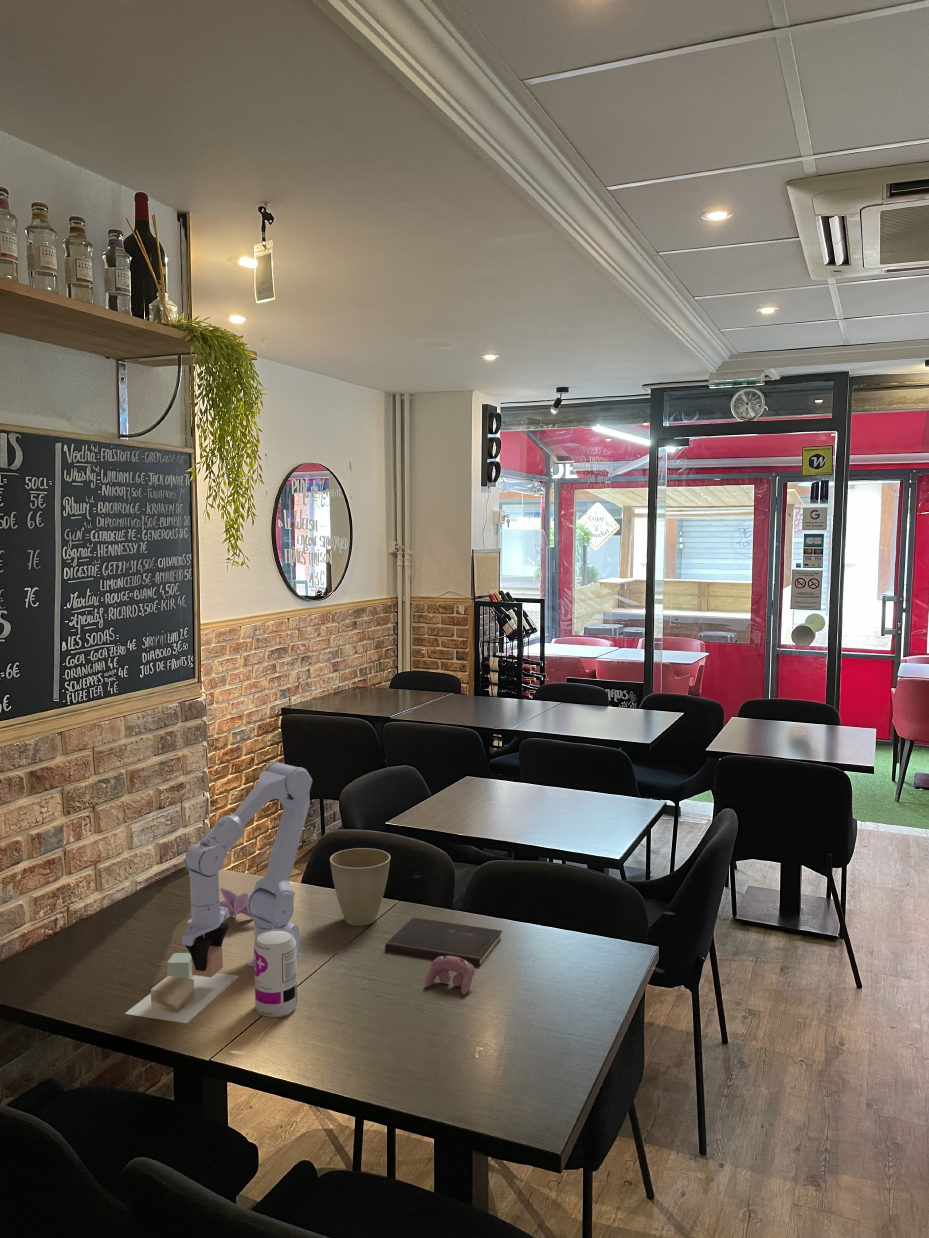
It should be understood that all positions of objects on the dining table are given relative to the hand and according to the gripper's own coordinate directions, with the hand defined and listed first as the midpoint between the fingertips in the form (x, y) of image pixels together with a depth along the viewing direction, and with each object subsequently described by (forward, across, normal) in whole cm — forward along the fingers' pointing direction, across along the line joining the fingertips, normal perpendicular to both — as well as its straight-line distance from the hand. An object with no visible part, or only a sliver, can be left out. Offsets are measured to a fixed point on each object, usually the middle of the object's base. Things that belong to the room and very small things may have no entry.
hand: (207, 964), depth 188 cm
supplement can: (+6, +4, +18) cm, 19 cm away
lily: (+6, -31, -10) cm, 34 cm away
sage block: (+5, -2, -8) cm, 9 cm away
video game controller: (+6, -14, +49) cm, 51 cm away
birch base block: (+5, +8, -3) cm, 10 cm away
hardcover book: (+6, -33, +42) cm, 54 cm away
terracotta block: (+2, 0, 0) cm, 2 cm away
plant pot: (+6, -41, +18) cm, 45 cm away
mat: (+5, +4, -3) cm, 7 cm away
